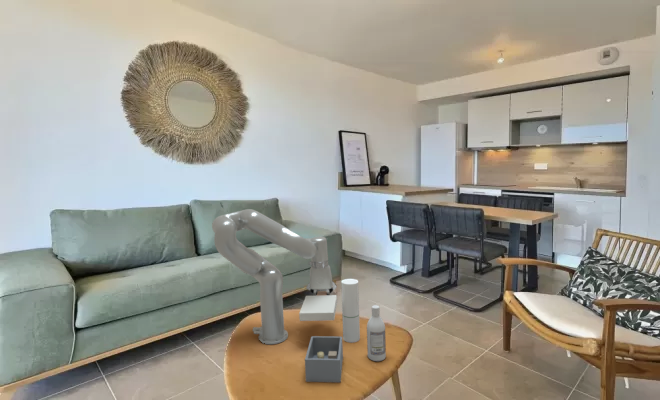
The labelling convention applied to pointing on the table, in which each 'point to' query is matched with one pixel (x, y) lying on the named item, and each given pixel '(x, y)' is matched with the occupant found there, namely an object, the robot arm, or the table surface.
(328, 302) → the lid
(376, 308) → the bath foam
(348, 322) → the cylindrical container
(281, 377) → the table surface
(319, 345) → the tub
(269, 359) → the table surface
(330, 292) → the robot arm
